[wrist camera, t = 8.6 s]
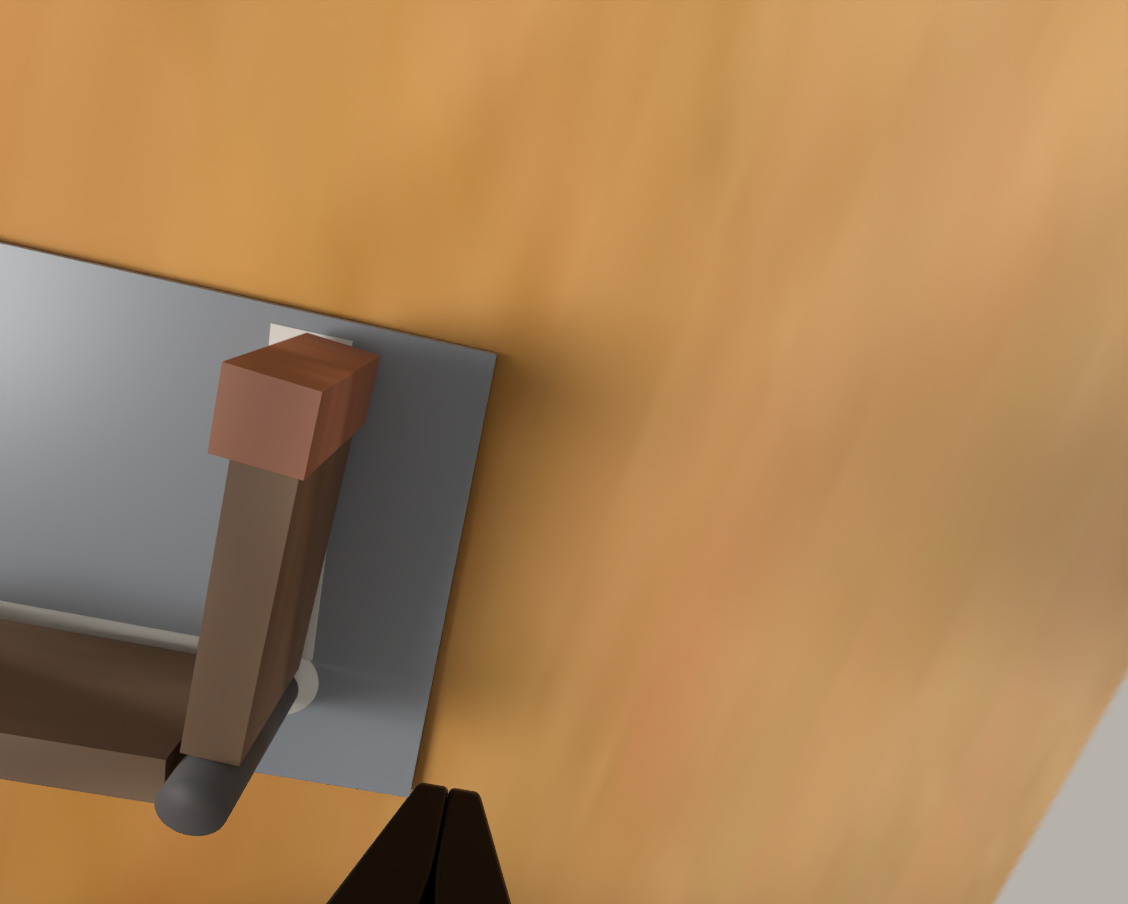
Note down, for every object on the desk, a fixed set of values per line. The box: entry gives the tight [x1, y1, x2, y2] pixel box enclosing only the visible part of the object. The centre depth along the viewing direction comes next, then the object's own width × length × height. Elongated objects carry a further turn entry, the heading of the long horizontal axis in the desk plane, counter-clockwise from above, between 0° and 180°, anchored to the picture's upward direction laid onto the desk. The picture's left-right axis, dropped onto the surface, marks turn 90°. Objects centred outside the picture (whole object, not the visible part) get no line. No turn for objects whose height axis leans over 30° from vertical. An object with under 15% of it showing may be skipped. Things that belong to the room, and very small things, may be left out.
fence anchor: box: [0, 619, 298, 836], centre depth 18 cm, size 2×12×5 cm, turn 77°
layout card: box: [0, 241, 497, 797], centre depth 19 cm, size 16×15×1 cm
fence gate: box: [180, 333, 381, 766], centre depth 16 cm, size 2×10×4 cm, turn 162°
